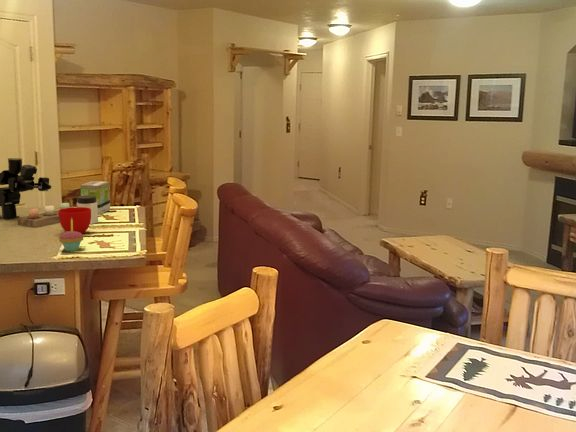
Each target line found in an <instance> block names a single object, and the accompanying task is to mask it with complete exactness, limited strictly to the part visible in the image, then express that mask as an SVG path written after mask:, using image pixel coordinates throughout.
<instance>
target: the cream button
mask: <svg viewBox="0 0 576 432" xmlns="http://www.w3.org/2000/svg"><path fill="white" fill-rule="evenodd" d="M55 211H56V210H55V206H54V205H45V206H44V213H45V215H46V216H52V215H55Z"/></svg>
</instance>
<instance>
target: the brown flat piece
mask: <svg viewBox="0 0 576 432" xmlns="http://www.w3.org/2000/svg"><path fill="white" fill-rule="evenodd" d="M59 210H60V209H58V210H54V211H55V215H52V216H46V215H45V212H43V213H38V214H39V218H37V219H29V215H27V216H21V217H18V218H17V225H19V226H24V227H29V228H41V227H45V226H50V225H51V226H52V225H56V224H60V220H59V215H58V211H59Z"/></svg>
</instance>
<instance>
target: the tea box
mask: <svg viewBox="0 0 576 432" xmlns="http://www.w3.org/2000/svg"><path fill="white" fill-rule="evenodd" d="M86 195H91V196H96V202H97V208H98V216H101V215H103V213H106V212H108V211H110V210H111V190H110V181H96V180H94V181H93V180H91V181H88V182H86V183H82V184H80V196H86Z"/></svg>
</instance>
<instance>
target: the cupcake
mask: <svg viewBox="0 0 576 432" xmlns="http://www.w3.org/2000/svg"><path fill="white" fill-rule="evenodd" d="M58 239H59V242H60V243H61V244H62V246H63V248H64V250H65V251H66V252H75V251H79V249H80V244H81V243H82V241H84V235H83V234H81V233H79V232H77V231H73V220H72V218H71V231H64V232H63V233H62V234H61V235H60V236H59V237H58Z"/></svg>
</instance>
